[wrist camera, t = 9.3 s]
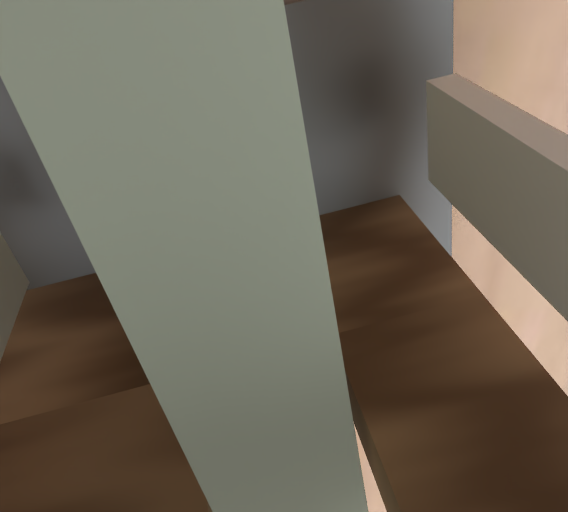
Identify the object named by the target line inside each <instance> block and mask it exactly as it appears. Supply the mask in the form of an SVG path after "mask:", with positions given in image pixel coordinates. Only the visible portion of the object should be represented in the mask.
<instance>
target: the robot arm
mask: <svg viewBox="0 0 568 512" xmlns="http://www.w3.org/2000/svg"><path fill="white" fill-rule="evenodd" d="M426 92H427V138H428V180H429V181H430V182H431V183H432V184H433V185H434V186H435V187H436V188H437V189H438V190H439V191H440V192H441V193H442V194H443V195H444V197H445V198H446V199H447V200H448V201H449V202H450V203H451V204H452V205H453V206H454V207H455V208H456V209H457V210H458V211H459V212H460V213H461V214H462V215H463V216H464V217H465V218H466V219H467V220H468V221H469V222H470V223H471V224H472V225H473V226H474V227H475V228H476V229H477V230H478V231H479V232H480V233H481V234H482V235H483V236H484V237H485V238H486V239H487V240H488V241H489V242H490V243H491V244H492V245H493V246H494V247H495V248H496V249H497V250H498V251H499V252H500V253H501V254H502V255H503V256H504V257H505V258H506V259H507V260H508V261H509V262H510V263H511V264H512V265H513V266H514V267H515V268H516V269H517V270H518V271H519V272H520V274H521V275H522V276H523V277H524V278H525V279H526V280H527V281H528V282H529V283H530V284H531V285H532V286H533V287H534V288H535V289H536V290H537V291H538V292H539V293H540V294H541V295H542V296H543V297H544V298H545V299H546V300H547V301H548V302H549V303H550V304H551V305H552V306H553V307H554V308H555V309H556V310H557V311H558V312H559V313H560V314H561V315H562V316H563V317H564V318H565V319H566V320H567V321H568V135H567V134H565V133H564V132H562V131H560V130H558V129H556V128H554V127H553V126H551V125H549V124H547V123H545V122H544V121H542V120H540V119H538V118H536V117H534V116H533V115H531V114H529V113H527V112H525V111H524V110H522V109H520V108H518V107H516V106H514V105H513V104H511V103H509V102H507V101H505V100H504V99H502V98H500V97H498V96H496V95H494V94H493V93H491V92H489V91H487V90H485V89H484V88H482V87H480V86H478V85H476V84H475V83H473V82H471V81H469V80H467V79H465V78H464V77H462V76H460V75H458V74H456V73H455V74H451V75H447V76H443V77H438V78H434V79H430V80H426ZM28 285H29V281H28V279H27V277H26V276H25V274H24V272H23V270H22V269H21V267H20V265H19V264H18V262H17V260H16V258H15V257H14V255H13V253H12V252H11V250H10V248H9V247H8V245H7V243H6V241H5V240H4V238H3V236H2V235H1V233H0V361H1V358H2V356H3V353H4V350H5V347H6V345H7V342H8V339H9V337H10V334H11V331H12V328H13V326H14V323H15V320H16V317H17V315H18V312H19V309H20V306H21V304H22V301H23V298H24V296H25V293H26V290H27V287H28Z"/></svg>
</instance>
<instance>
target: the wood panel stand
mask: <svg viewBox="0 0 568 512" xmlns="http://www.w3.org/2000/svg"><path fill="white" fill-rule="evenodd" d="M284 6H285V12H286V18H287V24H288V30H289V36H290V42H291V48H292V54H293V60H294V66H295V72H296V78H297V84H298V90H299V97H300V103H301V109H302V115H303V121H304V127H305V133H306V139H307V145H308V151H309V157H310V163H311V169H312V175H313V181H314V187H315V193H316V199H317V205H318V211H319V217H320V223H321V229H322V235H323V241H324V247H325V253H326V259H327V265H328V271H329V278H330V284H331V290H332V296H333V302H334V308H335V314H336V320H337V326H338V332H339V338H340V344H341V350H342V356H343V362H344V368H345V374H346V380H347V386H348V392H349V398H350V404H351V410H352V416H353V421H354V424H355V427H356V429H357V432H358V435H359V438H360V440H361V443H362V446H363V448H364V451H365V454H366V456H367V459H368V462H369V464H370V467H371V470H372V473H373V475H374V478H375V481H376V483H377V486H378V489H379V491H380V494H381V497H382V499H383V502H384V505H385V507H386V510H387V512H568V396H567V395H566V394H565V393H564V391H563V390H562V389H561V388H560V387H559V385H558V384H557V383H556V382H555V381H554V379H553V378H552V377H551V376H550V375H549V373H548V372H547V371H546V370H545V369H544V367H543V366H542V365H541V364H540V363H539V361H538V360H537V359H536V358H535V357H534V355H533V354H532V353H531V352H530V351H529V349H528V348H527V347H526V346H525V345H524V343H523V342H522V341H521V340H520V339H519V337H518V336H517V335H516V334H515V333H514V331H513V330H512V329H511V328H510V327H509V325H508V324H507V323H506V322H505V321H504V319H503V318H502V317H501V316H500V315H499V313H498V312H497V311H496V310H495V309H494V307H493V306H492V305H491V304H490V303H489V301H488V300H487V299H486V298H485V297H484V295H483V294H482V293H481V292H480V291H479V289H478V288H477V287H476V286H475V285H474V283H473V282H472V281H471V280H470V279H469V277H468V276H467V275H466V274H465V273H464V271H463V270H462V269H461V268H460V267H459V265H458V264H457V263H456V262H455V261H454V259H453V258H452V204H451V203H450V202H449V201H448V200H447V199H446V198H445V197H444V195H443V194H442V193H441V192H440V191H439V190H438V189H437V188H436V187H435V186H434V185H433V184H432V183H431V182H430V181H429V180H428V138H427V92H426V80H430V79H434V78H438V77H443V76H447V75H451V74H453V0H284ZM0 233H1V235H2V236H3V238H4V240H5V241H6V243H7V245H8V247H9V248H10V250H11V252H12V253H13V255H14V257H15V258H16V260H17V262H18V264H19V265H20V267H21V269H22V270H23V272H24V274H25V276H26V277H27V279H28V281H29V285H28V287H27V290H26V293H25V296H24V298H23V301H22V304H21V306H20V309H19V312H18V315H17V317H16V320H15V323H14V326H13V328H12V331H11V334H10V337H9V339H8V342H7V345H6V347H5V350H4V353H3V356H2V358H1V361H0V512H212V509H211V507H210V505H209V503H208V501H207V499H206V497H205V495H204V493H203V491H202V489H201V487H200V485H199V483H198V481H197V479H196V477H195V475H194V473H193V470H192V468H191V466H190V464H189V462H188V460H187V458H186V456H185V454H184V452H183V450H182V448H181V446H180V444H179V442H178V440H177V438H176V436H175V434H174V432H173V429H172V427H171V425H170V423H169V421H168V419H167V417H166V415H165V413H164V411H163V409H162V407H161V405H160V403H159V401H158V399H157V397H156V395H155V393H154V390H153V388H152V386H151V384H150V382H149V380H148V378H147V376H146V374H145V372H144V370H143V368H142V366H141V364H140V362H139V360H138V358H137V356H136V354H135V351H134V349H133V347H132V345H131V343H130V341H129V339H128V337H127V335H126V333H125V331H124V329H123V327H122V325H121V323H120V321H119V319H118V317H117V315H116V313H115V310H114V308H113V306H112V304H111V302H110V300H109V298H108V296H107V294H106V292H105V290H104V288H103V286H102V284H101V282H100V280H99V278H98V276H97V274H96V271H95V269H94V267H93V265H92V263H91V261H90V259H89V257H88V255H87V253H86V251H85V249H84V247H83V245H82V243H81V241H80V239H79V237H78V235H77V232H76V230H75V228H74V226H73V224H72V222H71V220H70V218H69V216H68V214H67V212H66V210H65V208H64V206H63V204H62V202H61V200H60V198H59V196H58V193H57V191H56V189H55V187H54V185H53V183H52V181H51V179H50V177H49V175H48V173H47V171H46V169H45V167H44V165H43V163H42V161H41V159H40V157H39V155H38V152H37V150H36V148H35V146H34V144H33V142H32V140H31V138H30V136H29V134H28V132H27V130H26V128H25V126H24V124H23V122H22V120H21V118H20V116H19V113H18V111H17V109H16V107H15V105H14V103H13V101H12V99H11V97H10V95H9V93H8V91H7V89H6V87H5V85H4V83H3V81H2V79H1V77H0Z"/></svg>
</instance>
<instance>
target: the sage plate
mask: <svg viewBox="0 0 568 512" xmlns="http://www.w3.org/2000/svg"><path fill="white" fill-rule="evenodd" d="M0 77H1V79H2V81H3V83H4V85H5V87H6V89H7V91H8V93H9V95H10V97H11V99H12V101H13V103H14V105H15V107H16V109H17V111H18V113H19V116H20V118H21V120H22V122H23V124H24V126H25V128H26V130H27V132H28V134H29V136H30V138H31V140H32V142H33V144H34V146H35V148H36V150H37V152H38V155H39V157H40V159H41V161H42V163H43V165H44V167H45V169H46V171H47V173H48V175H49V177H50V179H51V181H52V183H53V185H54V187H55V189H56V191H57V193H58V196H59V198H60V200H61V202H62V204H63V206H64V208H65V210H66V212H67V214H68V216H69V218H70V220H71V222H72V224H73V226H74V228H75V230H76V232H77V235H78V237H79V239H80V241H81V243H82V245H83V247H84V249H85V251H86V253H87V255H88V257H89V259H90V261H91V263H92V265H93V267H94V269H95V271H96V274H97V276H98V278H99V280H100V282H101V284H102V286H103V288H104V290H105V292H106V294H107V296H108V298H109V300H110V302H111V304H112V306H113V308H114V310H115V313H116V315H117V317H118V319H119V321H120V323H121V325H122V327H123V329H124V331H125V333H126V335H127V337H128V339H129V341H130V343H131V345H132V347H133V349H134V351H135V354H136V356H137V358H138V360H139V362H140V364H141V366H142V368H143V370H144V372H145V374H146V376H147V378H148V380H149V382H150V384H151V386H152V388H153V390H154V393H155V395H156V397H157V399H158V401H159V403H160V405H161V407H162V409H163V411H164V413H165V415H166V417H167V419H168V421H169V423H170V425H171V427H172V429H173V432H174V434H175V436H176V438H177V440H178V442H179V444H180V446H181V448H182V450H183V452H184V454H185V456H186V458H187V460H188V462H189V464H190V466H191V468H192V470H193V473H194V475H195V477H196V479H197V481H198V483H199V485H200V487H201V489H202V491H203V493H204V495H205V497H206V499H207V501H208V503H209V505H210V507H211V509H212V512H368V507H367V501H366V495H365V489H364V483H363V477H362V471H361V465H360V459H359V453H358V446H357V440H356V434H355V428H354V422H353V416H352V410H351V404H350V398H349V392H348V386H347V380H346V374H345V368H344V362H343V356H342V350H341V344H340V338H339V332H338V326H337V320H336V314H335V308H334V302H333V296H332V290H331V284H330V278H329V271H328V265H327V259H326V253H325V247H324V241H323V235H322V229H321V223H320V217H319V211H318V205H317V199H316V193H315V187H314V181H313V175H312V169H311V163H310V157H309V151H308V145H307V139H306V133H305V127H304V121H303V115H302V109H301V103H300V97H299V90H298V84H297V78H296V72H295V66H294V60H293V54H292V48H291V42H290V36H289V30H288V24H287V18H286V12H285V6H284V0H0Z"/></svg>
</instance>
